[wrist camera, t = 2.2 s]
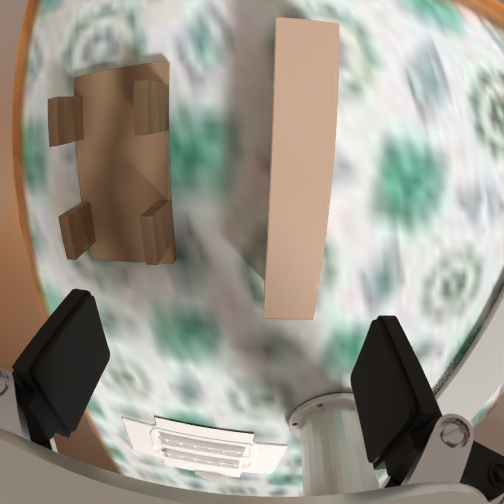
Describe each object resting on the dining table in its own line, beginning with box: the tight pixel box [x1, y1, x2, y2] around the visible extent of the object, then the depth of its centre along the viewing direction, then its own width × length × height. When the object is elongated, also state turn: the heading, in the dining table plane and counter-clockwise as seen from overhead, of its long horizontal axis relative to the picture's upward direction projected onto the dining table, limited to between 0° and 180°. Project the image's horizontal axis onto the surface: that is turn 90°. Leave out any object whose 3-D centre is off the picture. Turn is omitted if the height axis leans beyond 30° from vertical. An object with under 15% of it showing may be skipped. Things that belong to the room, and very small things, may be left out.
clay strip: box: [264, 17, 339, 320], centre depth 22 cm, size 4×22×6 cm, turn 178°
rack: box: [48, 61, 176, 265], centre depth 23 cm, size 9×18×5 cm, turn 179°
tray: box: [123, 417, 288, 483], centre depth 45 cm, size 20×28×4 cm
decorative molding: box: [435, 285, 504, 422], centre depth 34 cm, size 34×5×10 cm
